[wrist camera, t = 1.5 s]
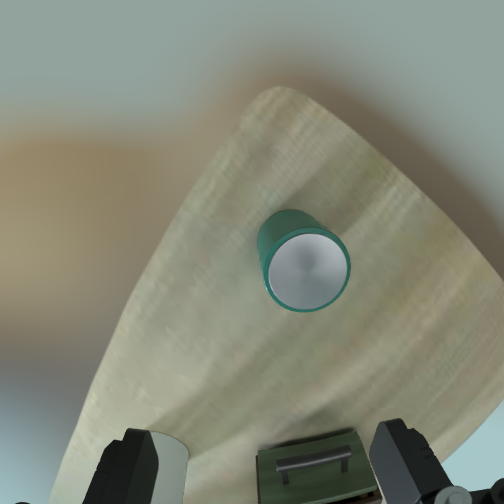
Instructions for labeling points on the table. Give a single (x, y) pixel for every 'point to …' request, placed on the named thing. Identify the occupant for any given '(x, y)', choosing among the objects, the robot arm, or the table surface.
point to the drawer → (316, 472)
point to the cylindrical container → (169, 469)
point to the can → (302, 261)
